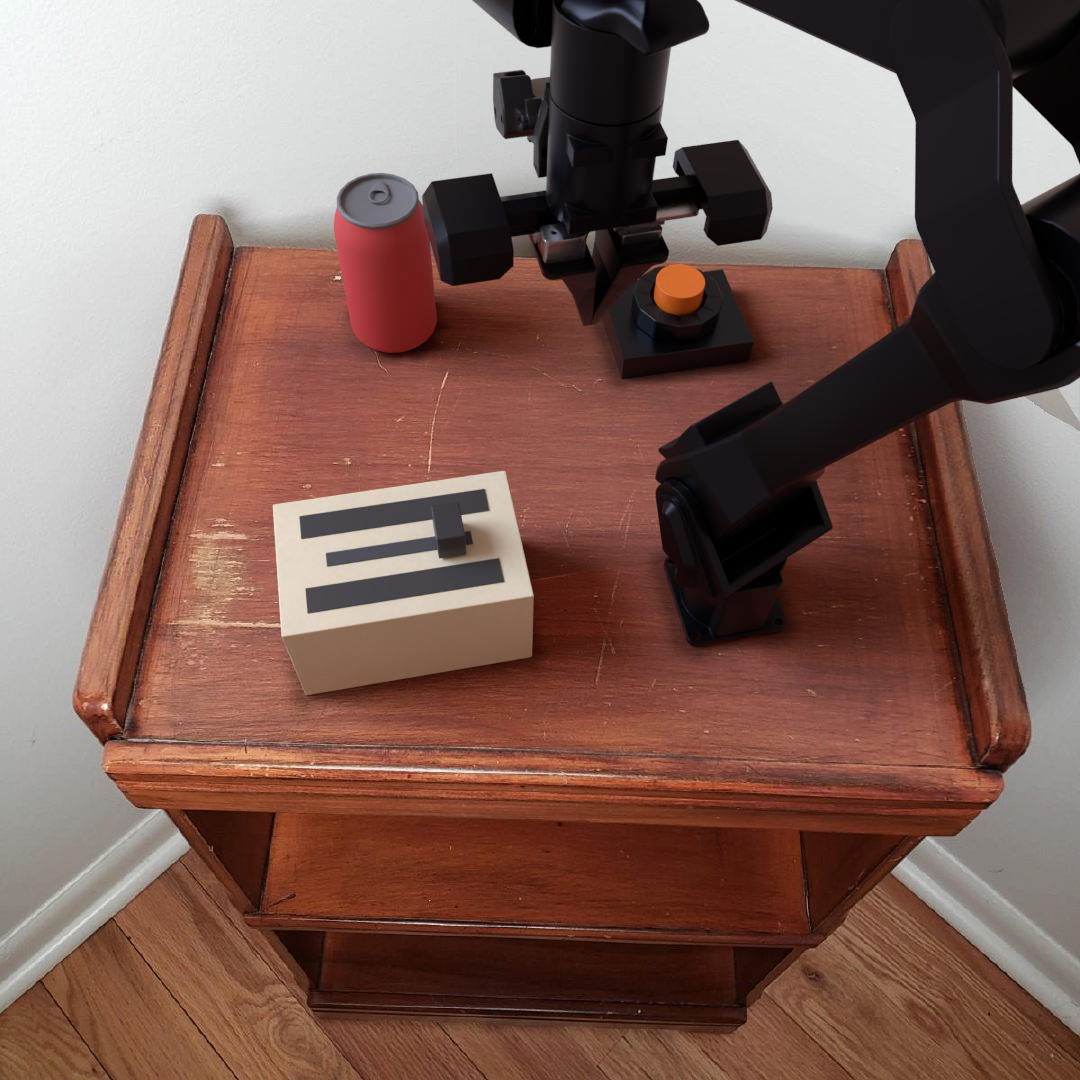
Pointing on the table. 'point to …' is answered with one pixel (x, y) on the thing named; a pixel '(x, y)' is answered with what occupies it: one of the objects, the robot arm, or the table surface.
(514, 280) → the table surface
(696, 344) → the control block
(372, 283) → the beer can
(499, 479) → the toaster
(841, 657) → the table surface
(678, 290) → the button
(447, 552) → the slider
